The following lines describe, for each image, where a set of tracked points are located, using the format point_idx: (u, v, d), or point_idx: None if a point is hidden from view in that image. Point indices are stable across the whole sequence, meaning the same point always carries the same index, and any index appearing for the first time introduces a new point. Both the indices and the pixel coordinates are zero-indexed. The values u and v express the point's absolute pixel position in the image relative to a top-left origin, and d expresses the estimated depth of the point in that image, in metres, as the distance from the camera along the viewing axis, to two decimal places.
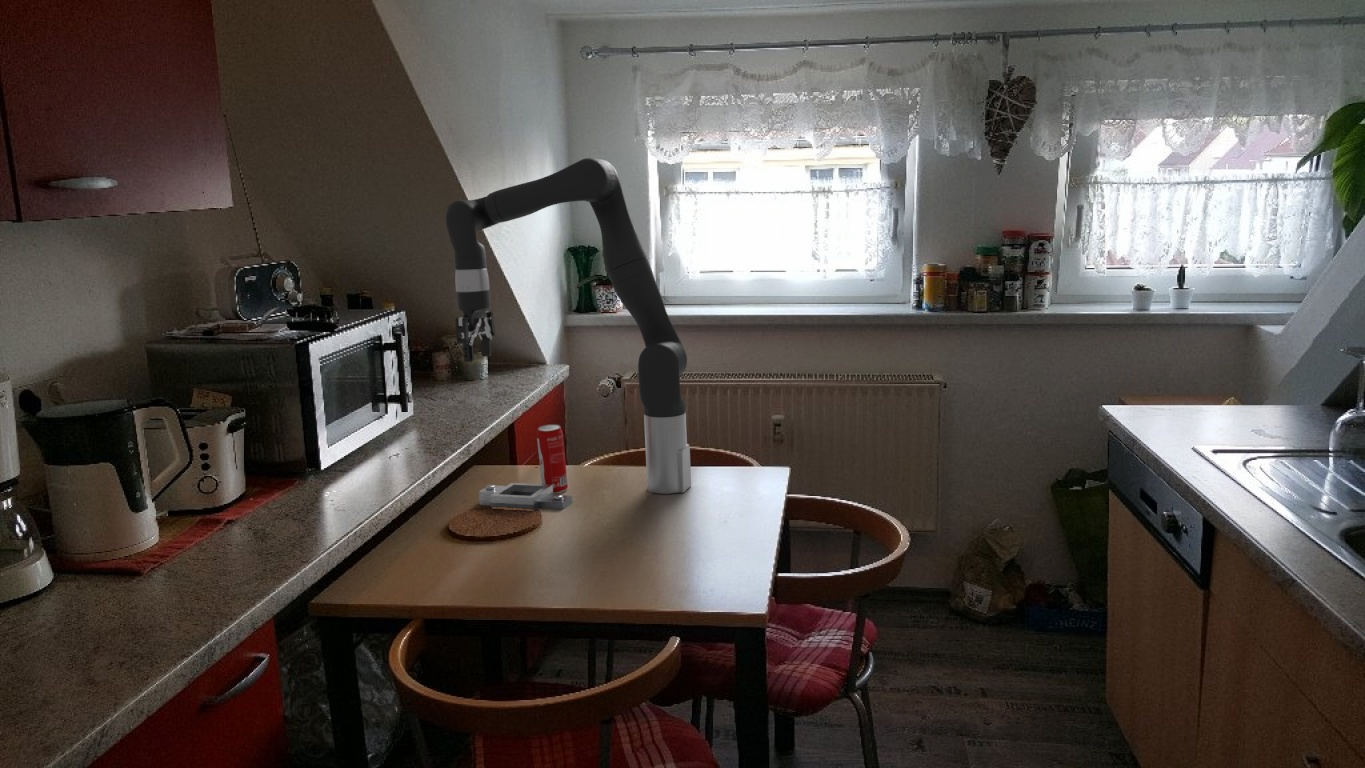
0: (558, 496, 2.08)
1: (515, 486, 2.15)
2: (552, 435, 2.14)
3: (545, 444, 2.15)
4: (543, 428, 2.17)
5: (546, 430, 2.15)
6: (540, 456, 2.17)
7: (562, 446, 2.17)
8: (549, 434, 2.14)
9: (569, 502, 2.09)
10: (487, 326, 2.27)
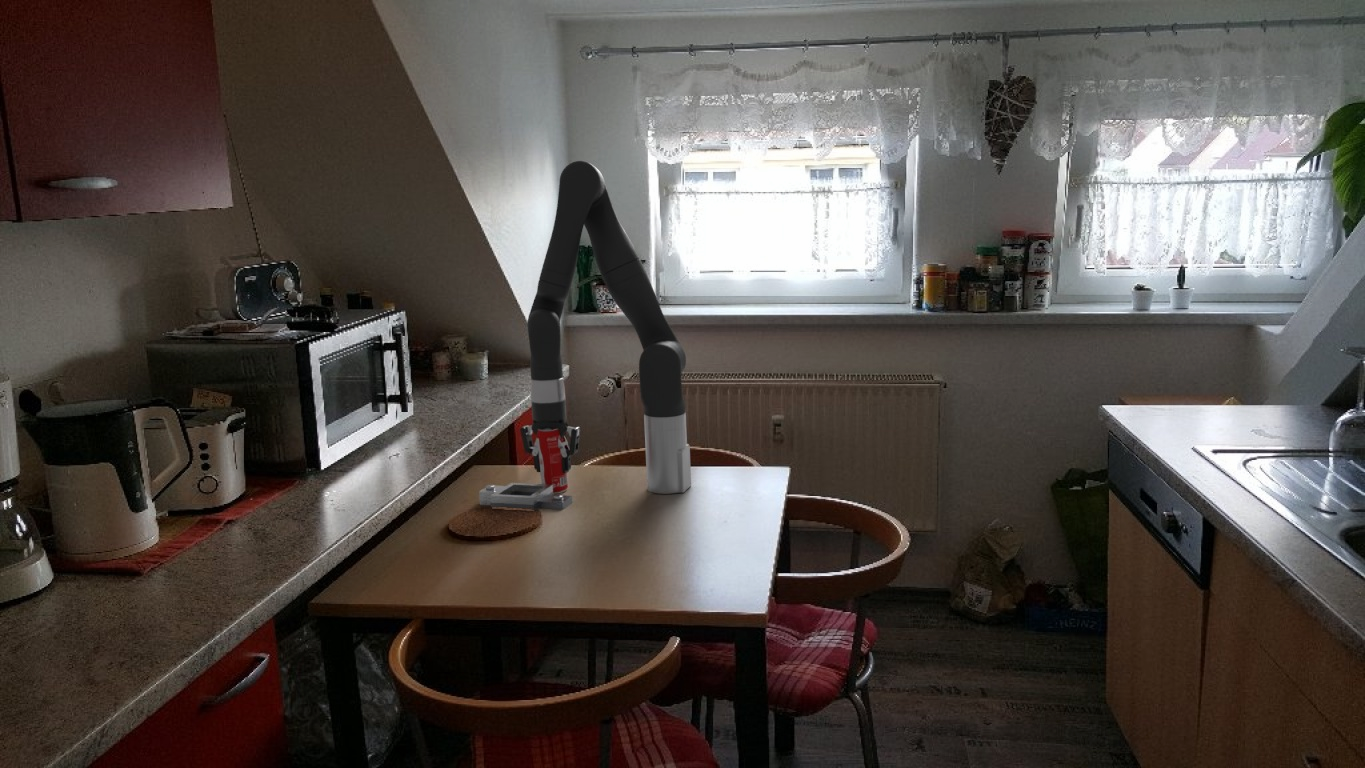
0: (558, 496, 2.08)
1: (515, 486, 2.15)
2: (553, 435, 2.14)
3: (545, 444, 2.15)
4: None
5: (546, 430, 2.15)
6: (540, 456, 2.17)
7: None
8: (549, 434, 2.14)
9: (569, 502, 2.09)
10: None
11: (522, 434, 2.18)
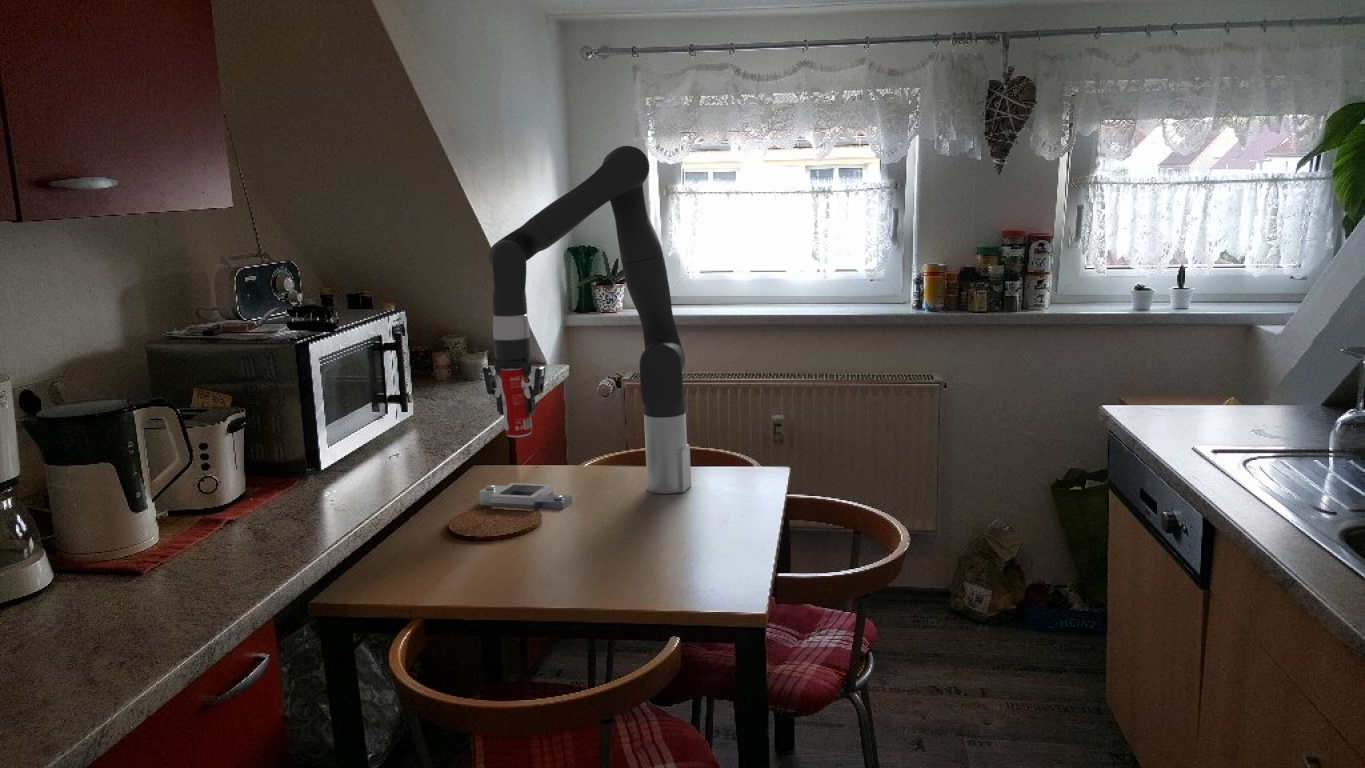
0: (558, 496, 2.08)
1: (515, 486, 2.15)
2: (516, 374, 2.04)
3: (507, 383, 2.04)
4: None
5: (509, 369, 2.04)
6: (503, 397, 2.06)
7: None
8: (512, 373, 2.04)
9: (569, 502, 2.09)
10: None
11: (484, 374, 2.07)
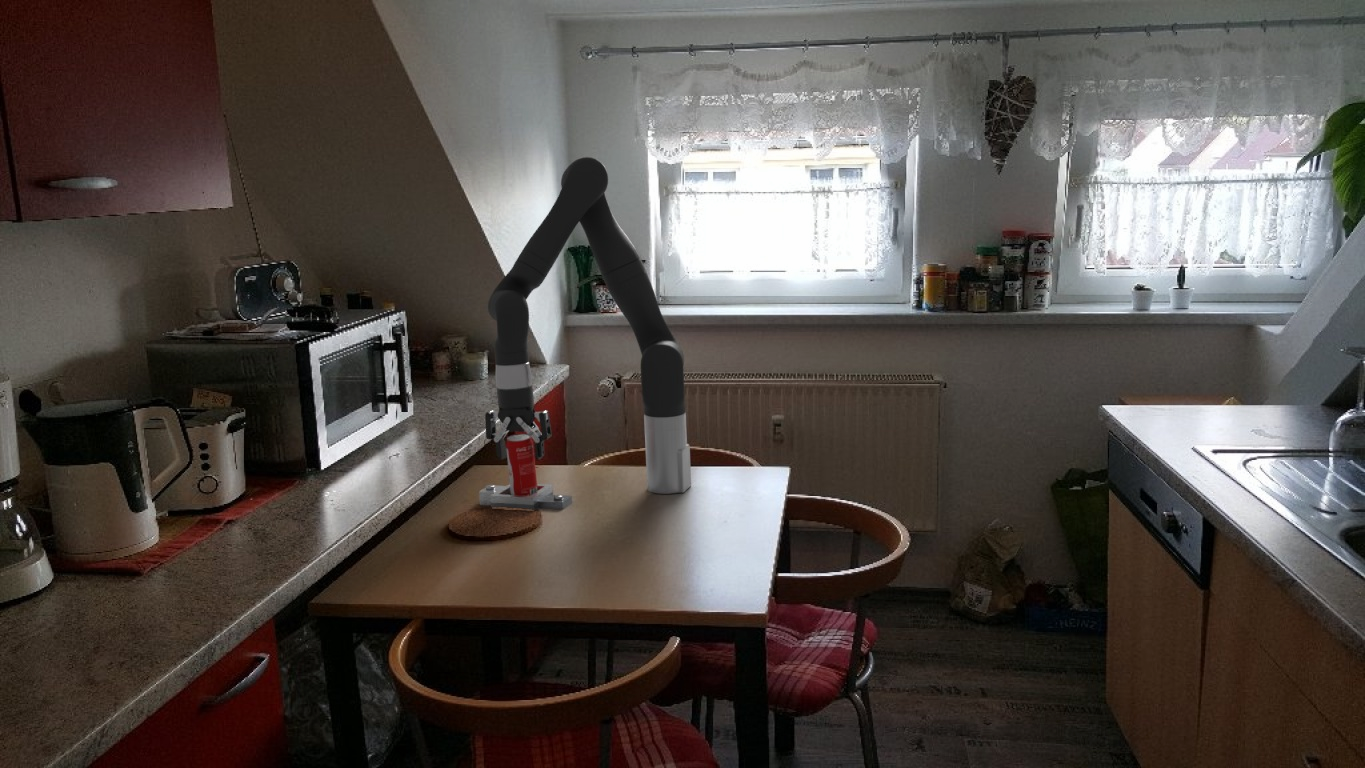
0: (558, 496, 2.08)
1: None
2: (522, 445, 2.06)
3: (514, 454, 2.06)
4: (512, 438, 2.08)
5: (515, 440, 2.06)
6: (509, 467, 2.08)
7: (532, 457, 2.08)
8: (518, 444, 2.06)
9: (569, 502, 2.09)
10: None
11: (486, 419, 2.08)
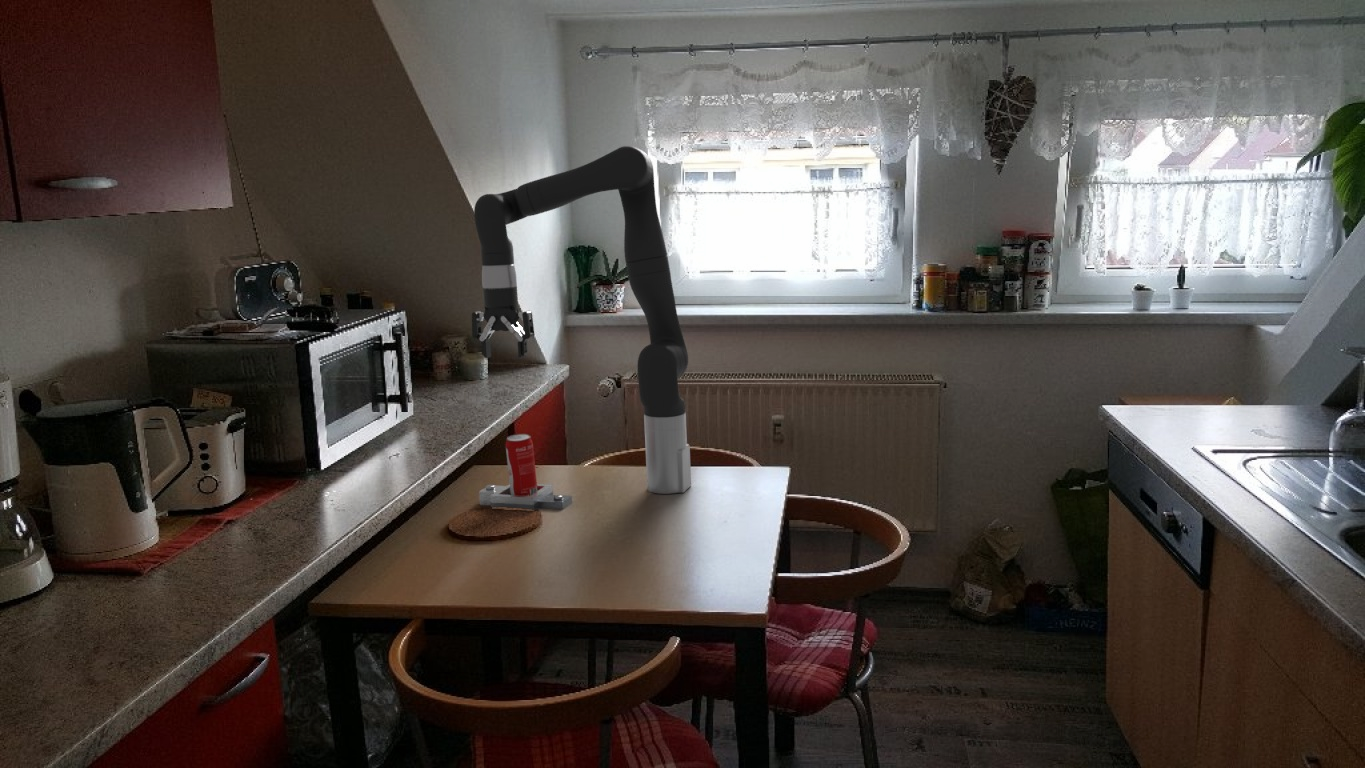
0: (558, 496, 2.08)
1: None
2: (522, 445, 2.06)
3: (514, 454, 2.06)
4: (512, 438, 2.08)
5: (515, 440, 2.07)
6: (509, 467, 2.08)
7: (532, 456, 2.08)
8: (518, 444, 2.06)
9: (569, 502, 2.09)
10: None
11: (473, 319, 2.19)
